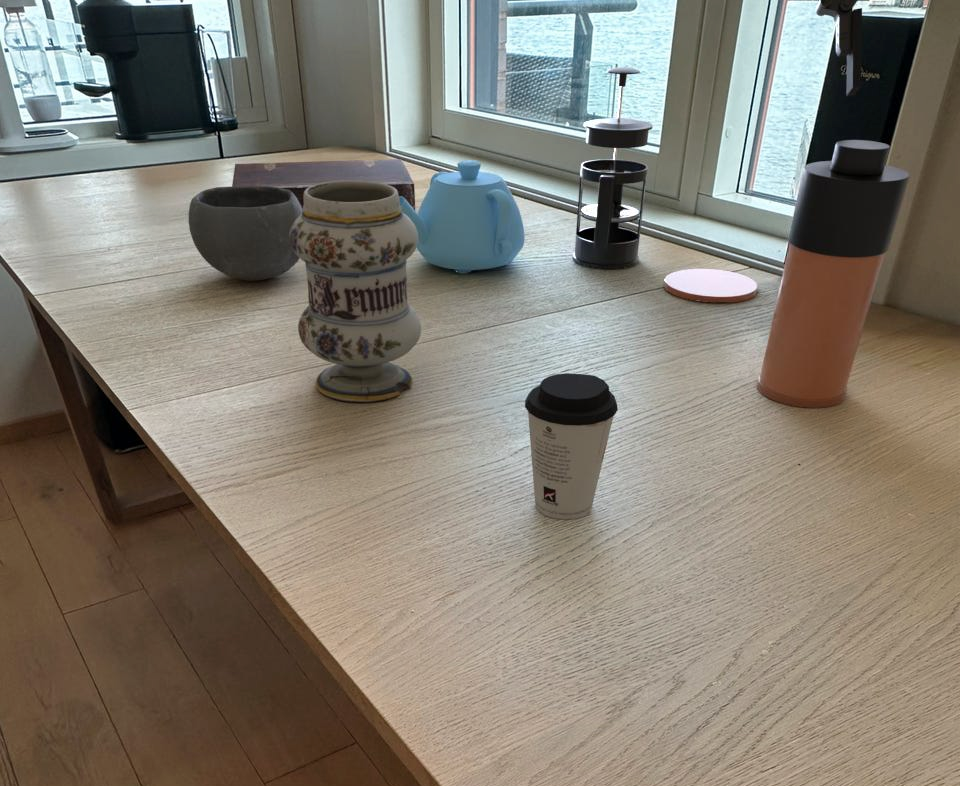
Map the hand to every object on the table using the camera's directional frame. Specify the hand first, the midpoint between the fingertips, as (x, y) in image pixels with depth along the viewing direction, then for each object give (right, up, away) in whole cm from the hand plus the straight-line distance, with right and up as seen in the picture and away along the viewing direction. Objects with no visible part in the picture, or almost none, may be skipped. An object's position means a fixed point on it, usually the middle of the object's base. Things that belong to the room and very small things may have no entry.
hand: (928, 79), depth 82 cm
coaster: (-13, -8, +31) cm, 34 cm away
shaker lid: (-10, -18, -4) cm, 21 cm away
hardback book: (-70, +21, +65) cm, 97 cm away
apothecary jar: (-55, -28, +6) cm, 62 cm away
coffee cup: (-36, -43, -13) cm, 58 cm away
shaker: (-10, -28, +5) cm, 31 cm away
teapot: (-47, -1, +38) cm, 60 cm away
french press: (-25, 0, +40) cm, 47 cm away
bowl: (-73, -5, +33) cm, 81 cm away
